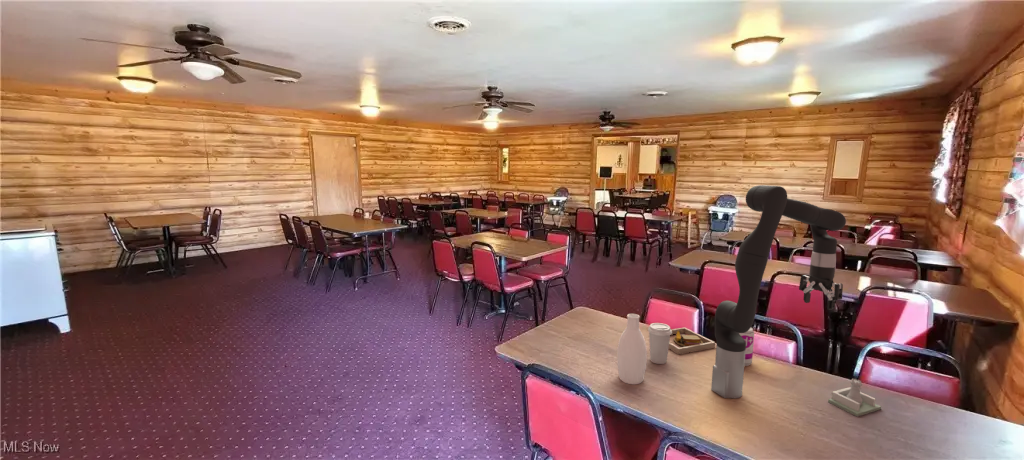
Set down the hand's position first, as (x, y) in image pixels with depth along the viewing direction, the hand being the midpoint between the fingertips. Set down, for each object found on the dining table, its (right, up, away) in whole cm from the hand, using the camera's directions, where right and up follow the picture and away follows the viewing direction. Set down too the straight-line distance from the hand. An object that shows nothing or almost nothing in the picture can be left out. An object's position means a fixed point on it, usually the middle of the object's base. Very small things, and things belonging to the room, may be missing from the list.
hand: (818, 306), depth 157 cm
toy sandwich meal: (-34, -24, +35) cm, 54 cm away
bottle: (-70, -29, +3) cm, 76 cm away
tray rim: (-37, -23, +35) cm, 56 cm away
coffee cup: (-55, -26, +18) cm, 63 cm away
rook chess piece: (0, -30, -16) cm, 34 cm away
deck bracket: (0, -31, -16) cm, 35 cm away
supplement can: (-21, -26, +16) cm, 37 cm away
